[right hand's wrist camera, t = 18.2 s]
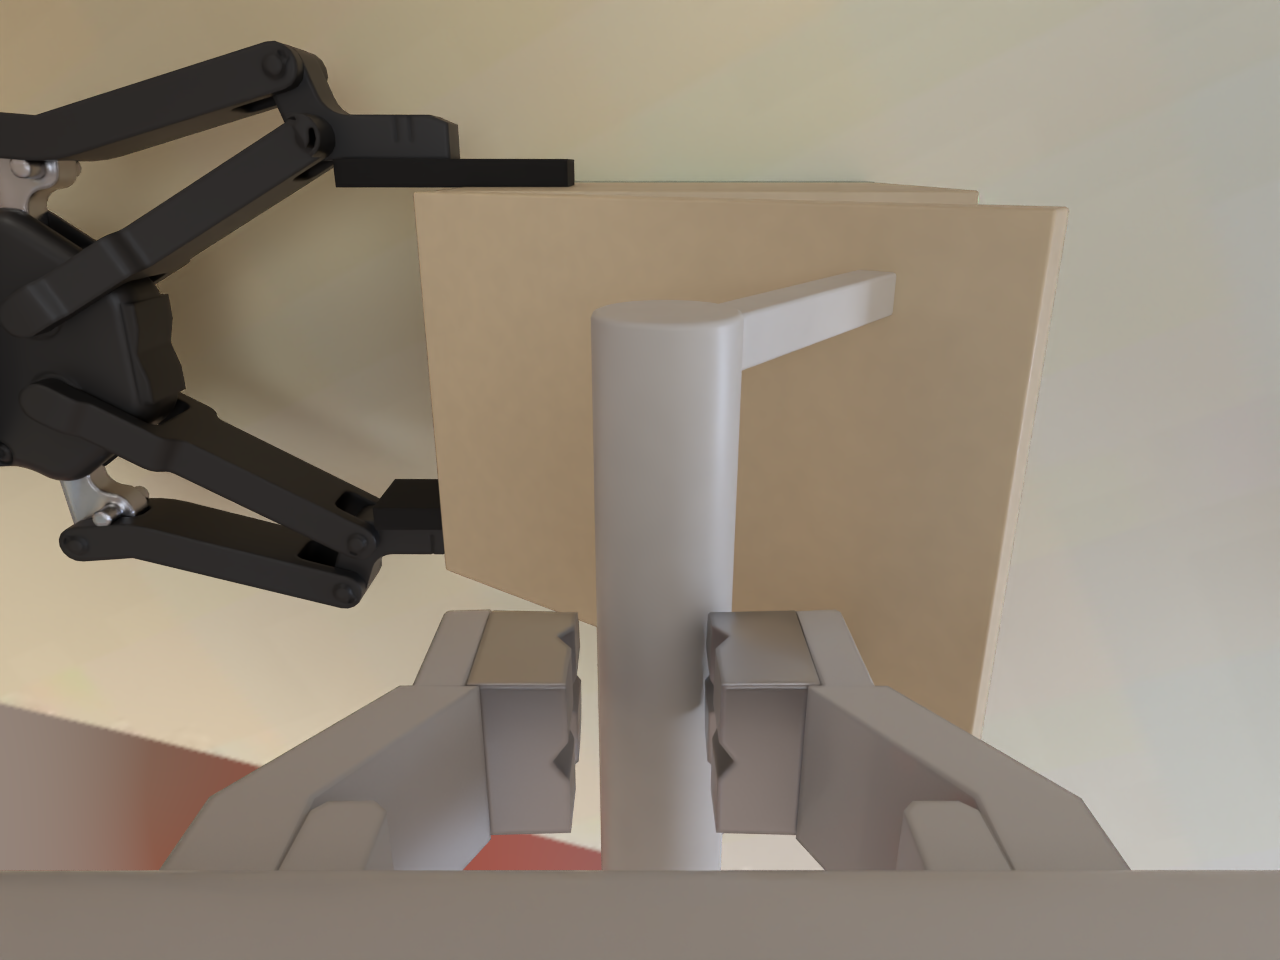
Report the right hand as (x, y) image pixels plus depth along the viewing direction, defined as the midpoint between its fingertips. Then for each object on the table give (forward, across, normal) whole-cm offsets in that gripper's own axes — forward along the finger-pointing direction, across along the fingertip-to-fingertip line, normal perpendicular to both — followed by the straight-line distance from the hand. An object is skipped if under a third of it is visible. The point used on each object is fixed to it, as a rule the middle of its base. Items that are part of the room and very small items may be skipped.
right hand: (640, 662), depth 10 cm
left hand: (+18, +2, 0) cm, 18 cm away
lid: (+9, -1, 0) cm, 9 cm away
